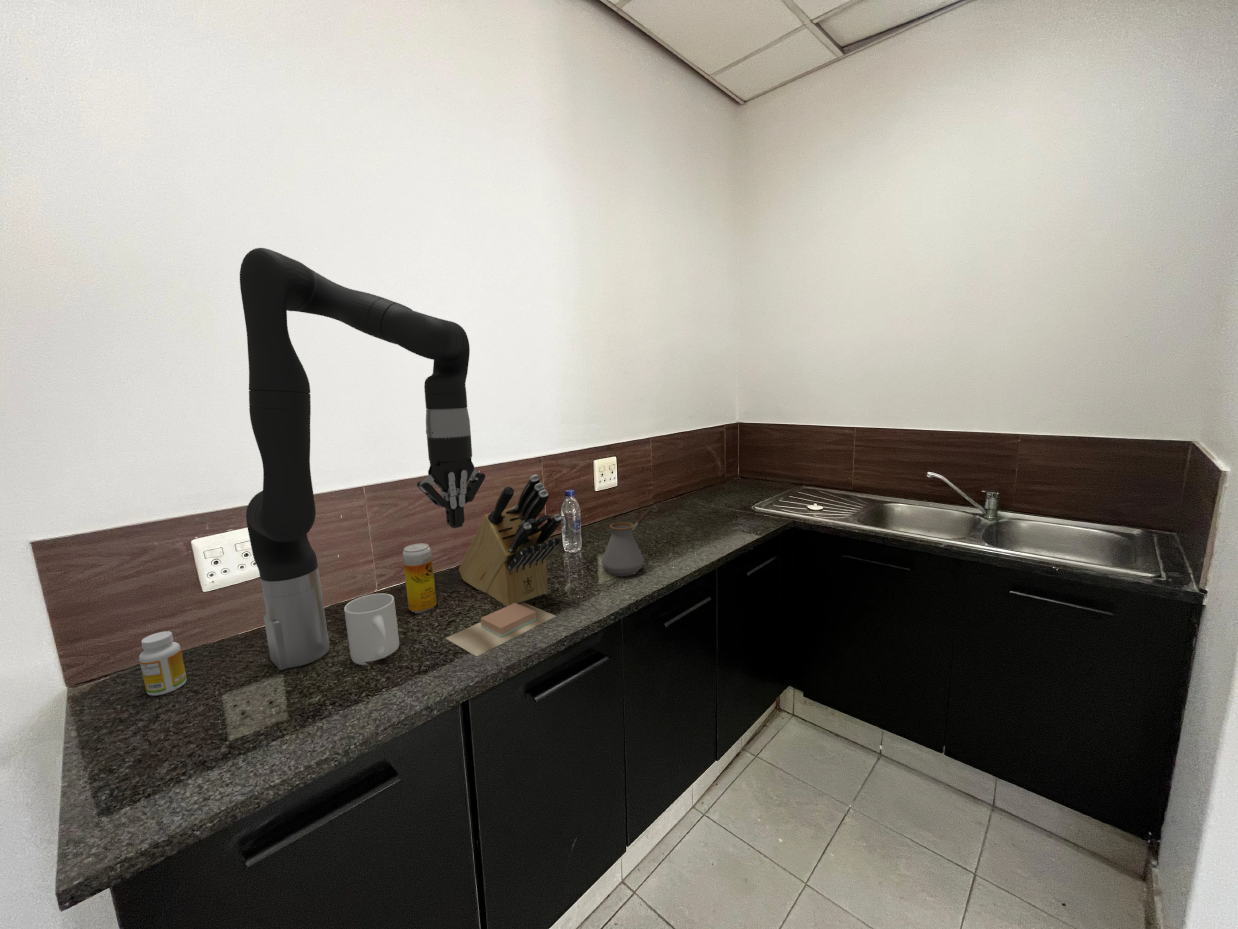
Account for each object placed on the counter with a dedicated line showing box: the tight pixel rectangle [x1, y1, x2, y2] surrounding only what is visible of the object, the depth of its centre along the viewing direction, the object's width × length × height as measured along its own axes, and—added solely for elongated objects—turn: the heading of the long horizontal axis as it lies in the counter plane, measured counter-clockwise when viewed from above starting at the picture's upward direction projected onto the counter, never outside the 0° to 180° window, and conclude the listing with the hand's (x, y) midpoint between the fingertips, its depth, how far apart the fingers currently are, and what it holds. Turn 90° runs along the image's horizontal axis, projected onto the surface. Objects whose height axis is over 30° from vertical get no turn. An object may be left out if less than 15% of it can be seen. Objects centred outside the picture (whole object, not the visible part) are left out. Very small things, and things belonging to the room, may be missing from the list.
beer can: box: [402, 543, 437, 614], centre depth 115 cm, size 6×6×15 cm
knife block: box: [458, 474, 563, 607], centre depth 120 cm, size 11×35×31 cm, turn 42°
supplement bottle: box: [138, 630, 187, 696], centre depth 88 cm, size 5×5×10 cm
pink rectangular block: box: [480, 603, 536, 637], centre depth 105 cm, size 2×7×9 cm
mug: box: [343, 592, 400, 666], centre depth 95 cm, size 9×12×11 cm
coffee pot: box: [601, 504, 658, 577], centre depth 137 cm, size 21×12×15 cm, turn 142°
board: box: [445, 602, 557, 657], centre depth 104 cm, size 20×11×1 cm, turn 139°
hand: (456, 526), depth 92 cm, fingers closed
